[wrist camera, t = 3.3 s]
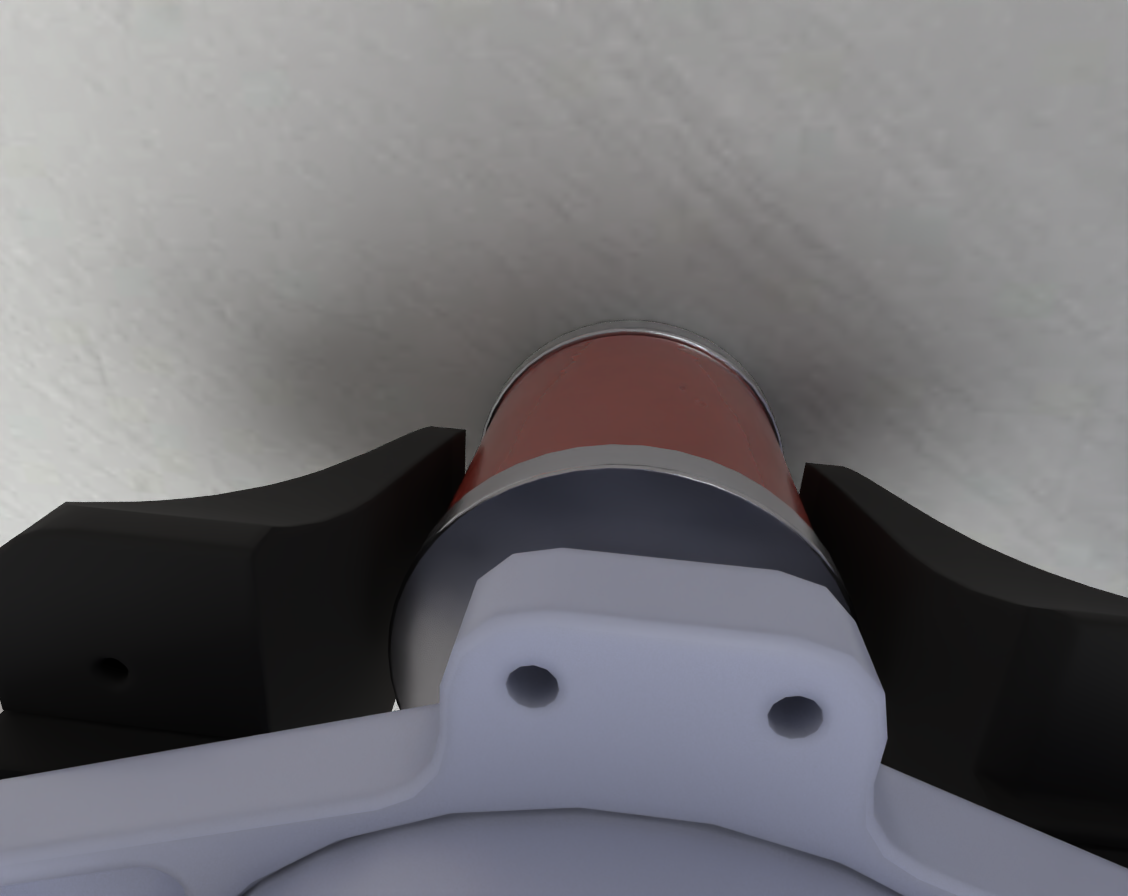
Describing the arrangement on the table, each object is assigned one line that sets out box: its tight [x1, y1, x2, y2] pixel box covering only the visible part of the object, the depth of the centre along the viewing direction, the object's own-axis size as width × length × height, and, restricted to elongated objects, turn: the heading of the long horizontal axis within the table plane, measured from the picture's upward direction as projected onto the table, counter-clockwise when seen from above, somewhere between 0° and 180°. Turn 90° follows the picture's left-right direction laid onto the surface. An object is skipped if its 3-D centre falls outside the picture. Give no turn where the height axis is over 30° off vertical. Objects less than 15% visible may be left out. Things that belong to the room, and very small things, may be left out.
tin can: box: [388, 320, 862, 710], centre depth 12 cm, size 6×6×6 cm
